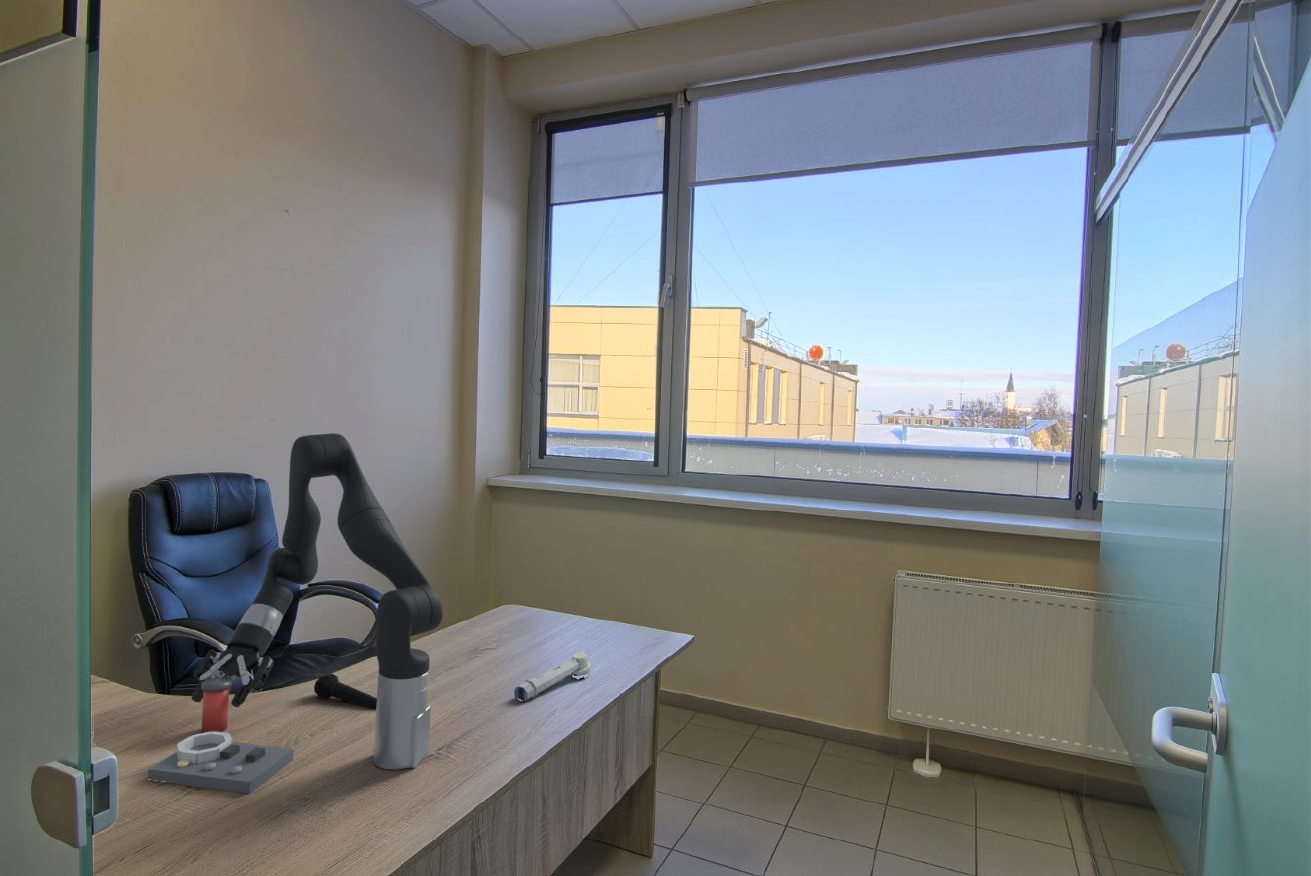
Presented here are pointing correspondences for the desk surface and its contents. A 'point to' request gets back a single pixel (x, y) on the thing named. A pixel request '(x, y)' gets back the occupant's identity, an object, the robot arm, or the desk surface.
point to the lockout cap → (215, 704)
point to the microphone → (342, 691)
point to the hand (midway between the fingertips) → (215, 703)
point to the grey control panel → (220, 763)
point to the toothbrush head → (553, 676)
